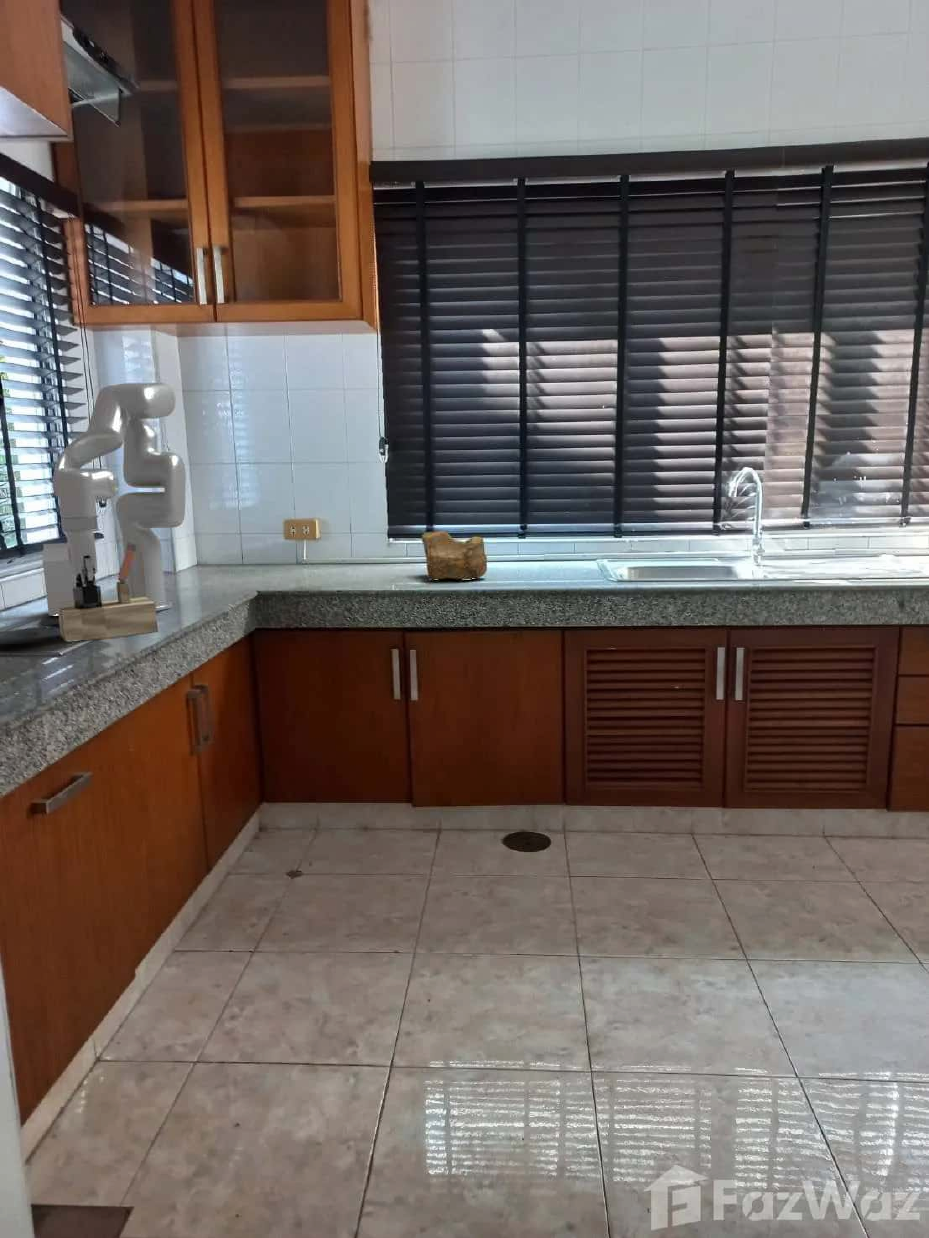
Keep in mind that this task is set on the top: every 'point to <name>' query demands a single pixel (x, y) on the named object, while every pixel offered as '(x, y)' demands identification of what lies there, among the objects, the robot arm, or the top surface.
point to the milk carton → (57, 577)
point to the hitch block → (109, 618)
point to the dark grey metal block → (79, 599)
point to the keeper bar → (127, 562)
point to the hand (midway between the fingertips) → (87, 600)
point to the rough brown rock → (453, 556)
